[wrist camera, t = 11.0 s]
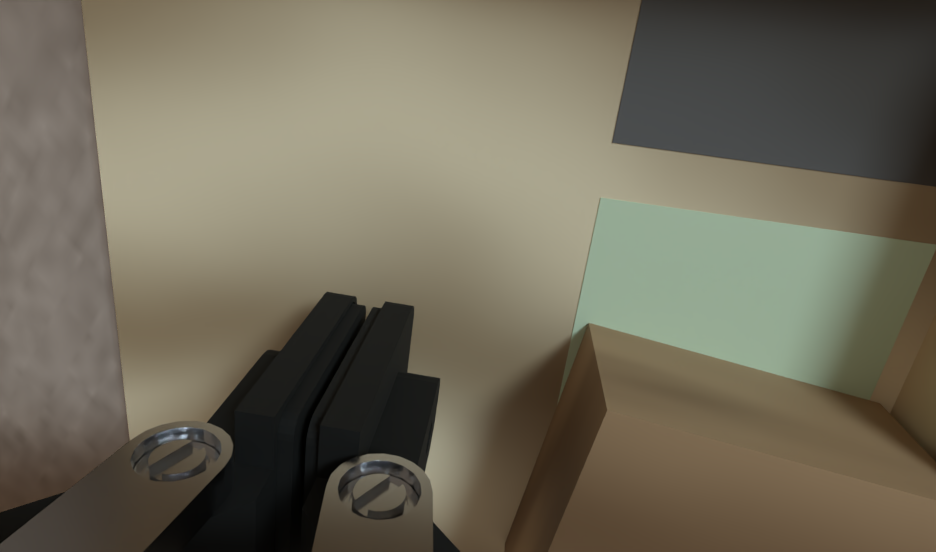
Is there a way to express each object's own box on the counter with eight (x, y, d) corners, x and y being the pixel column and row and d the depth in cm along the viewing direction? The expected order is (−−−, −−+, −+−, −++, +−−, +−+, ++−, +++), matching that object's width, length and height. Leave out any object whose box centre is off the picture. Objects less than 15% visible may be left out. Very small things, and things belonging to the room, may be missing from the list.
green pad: (794, 547, 14) (800, 558, 14) (533, 506, 14) (534, 515, 14) (927, 239, 11) (937, 245, 11) (598, 194, 11) (601, 198, 11)
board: (747, 744, 18) (806, 935, 14) (174, 646, 18) (85, 802, 15) (1173, -164, 9) (1603, -295, 6) (91, -288, 10) (-170, -480, 6)
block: (750, 609, 14) (804, 748, 12) (504, 543, 14) (499, 667, 11) (879, 403, 12) (985, 513, 9) (588, 322, 12) (607, 410, 9)
